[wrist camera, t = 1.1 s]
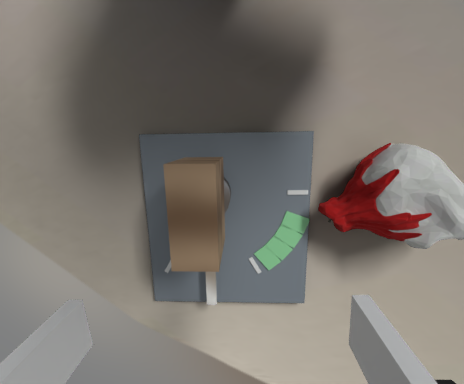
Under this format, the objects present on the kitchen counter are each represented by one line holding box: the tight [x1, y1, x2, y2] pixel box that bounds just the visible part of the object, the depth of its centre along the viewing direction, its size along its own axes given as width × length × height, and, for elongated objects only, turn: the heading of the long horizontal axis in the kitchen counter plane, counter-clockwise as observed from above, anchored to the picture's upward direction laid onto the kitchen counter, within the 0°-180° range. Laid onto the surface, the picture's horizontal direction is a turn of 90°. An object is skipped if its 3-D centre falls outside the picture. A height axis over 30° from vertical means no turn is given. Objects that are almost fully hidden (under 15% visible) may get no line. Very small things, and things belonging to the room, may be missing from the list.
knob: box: [163, 157, 231, 305], centre depth 25 cm, size 18×5×10 cm, turn 1°
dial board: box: [139, 131, 314, 303], centre depth 30 cm, size 22×20×1 cm
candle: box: [318, 143, 464, 249], centre depth 25 cm, size 9×11×15 cm
